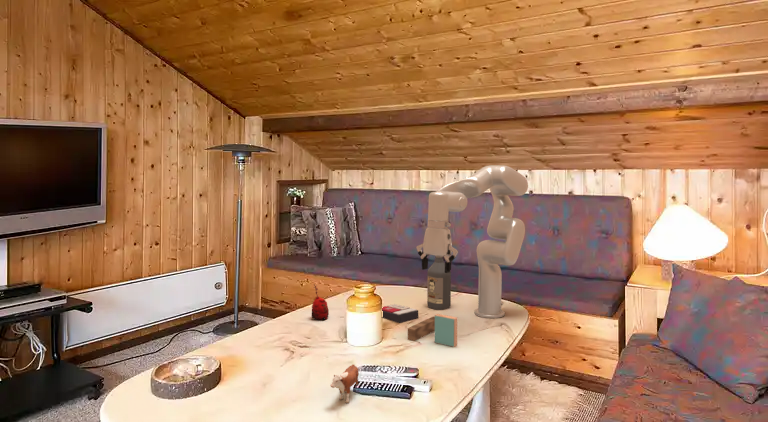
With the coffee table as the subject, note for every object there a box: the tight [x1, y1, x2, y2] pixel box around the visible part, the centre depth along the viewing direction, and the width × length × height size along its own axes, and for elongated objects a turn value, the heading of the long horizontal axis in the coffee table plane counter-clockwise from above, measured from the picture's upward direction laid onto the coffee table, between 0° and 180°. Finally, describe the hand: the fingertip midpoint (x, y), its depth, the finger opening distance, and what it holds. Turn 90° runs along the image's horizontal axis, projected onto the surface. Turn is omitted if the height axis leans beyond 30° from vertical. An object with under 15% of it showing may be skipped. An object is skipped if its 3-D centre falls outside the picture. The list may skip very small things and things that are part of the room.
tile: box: [434, 313, 458, 348], centre depth 181 cm, size 2×8×10 cm, turn 54°
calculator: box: [382, 303, 419, 324], centre depth 215 cm, size 11×4×15 cm
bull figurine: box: [330, 364, 360, 404], centre depth 140 cm, size 4×13×8 cm, turn 159°
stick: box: [407, 316, 435, 342], centre depth 193 cm, size 18×3×4 cm, turn 144°
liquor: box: [426, 256, 452, 311], centre depth 228 cm, size 9×9×30 cm
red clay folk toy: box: [311, 284, 330, 321], centre depth 212 cm, size 8×7×15 cm
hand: (435, 270), depth 192 cm, fingers open, 9 cm apart
